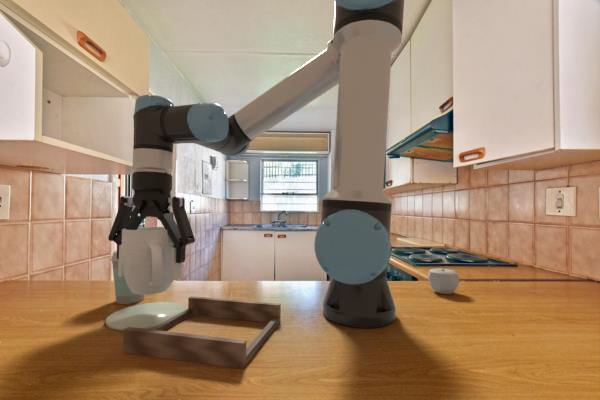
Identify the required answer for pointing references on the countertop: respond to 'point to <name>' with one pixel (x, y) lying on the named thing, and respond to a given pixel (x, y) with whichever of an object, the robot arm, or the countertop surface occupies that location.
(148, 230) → the mug
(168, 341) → the frame
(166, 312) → the trivet
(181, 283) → the countertop surface
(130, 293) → the coffee cup
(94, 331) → the countertop surface
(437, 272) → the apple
